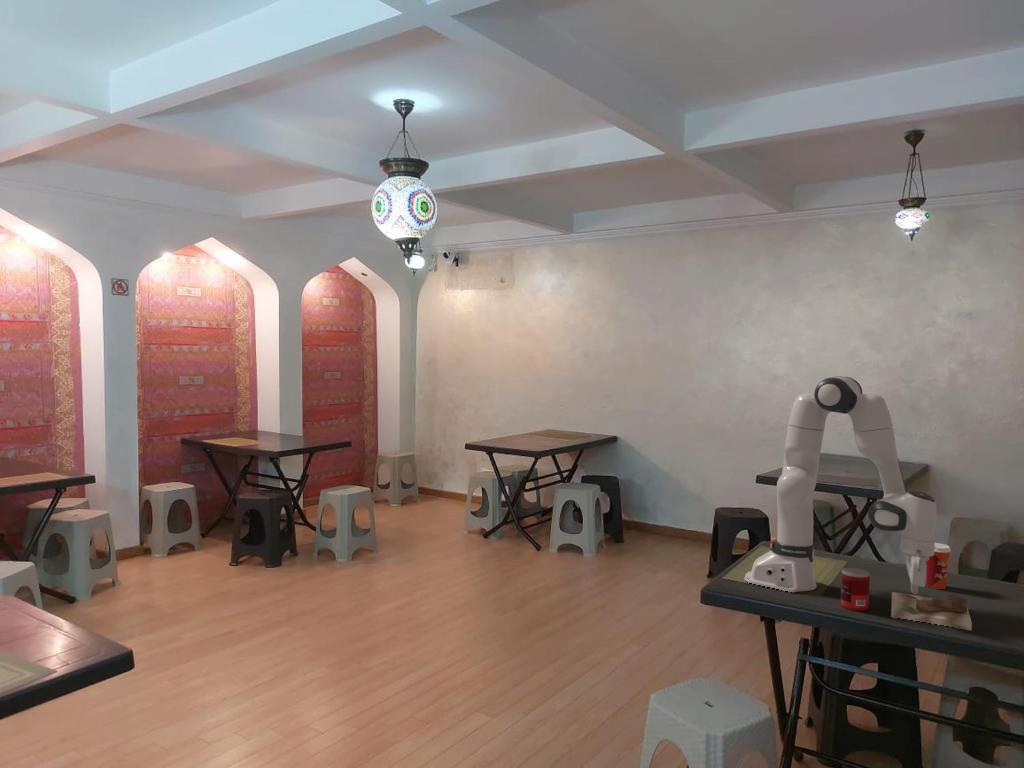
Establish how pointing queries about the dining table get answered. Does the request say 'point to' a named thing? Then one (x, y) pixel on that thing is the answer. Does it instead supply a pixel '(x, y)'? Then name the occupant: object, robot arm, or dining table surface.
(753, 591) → the dining table surface
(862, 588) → the canned food
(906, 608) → the cream flat square slab
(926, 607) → the wooden spoon
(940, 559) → the paper cup
